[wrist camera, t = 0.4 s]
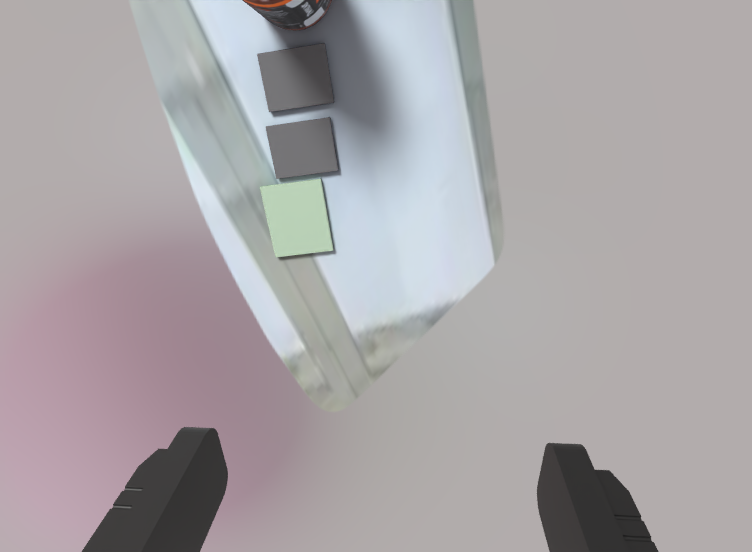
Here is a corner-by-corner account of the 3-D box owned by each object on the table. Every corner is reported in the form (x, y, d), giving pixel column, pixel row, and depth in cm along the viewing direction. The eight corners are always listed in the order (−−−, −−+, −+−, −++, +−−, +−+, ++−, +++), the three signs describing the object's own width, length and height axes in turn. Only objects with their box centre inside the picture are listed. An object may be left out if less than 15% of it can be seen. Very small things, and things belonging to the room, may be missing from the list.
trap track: (232, 58, 32) (230, 58, 32) (325, 44, 32) (324, 43, 31) (276, 255, 38) (275, 257, 37) (356, 246, 37) (356, 247, 37)
